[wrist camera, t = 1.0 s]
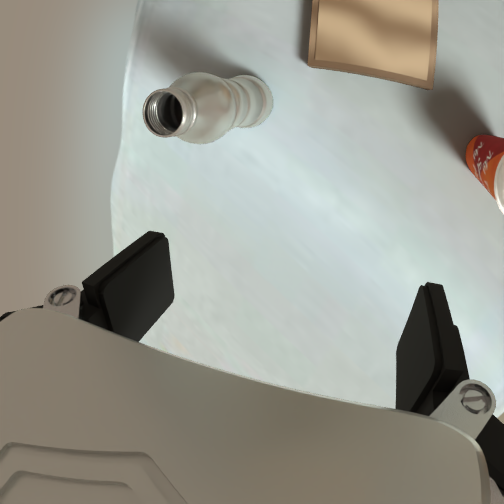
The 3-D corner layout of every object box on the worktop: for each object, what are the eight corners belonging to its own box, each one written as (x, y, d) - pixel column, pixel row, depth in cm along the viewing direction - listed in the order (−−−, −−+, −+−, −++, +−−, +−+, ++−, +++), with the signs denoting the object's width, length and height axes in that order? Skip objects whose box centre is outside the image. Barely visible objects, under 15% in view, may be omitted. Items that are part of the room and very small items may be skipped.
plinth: (318, -32, 26) (314, -42, 24) (433, -13, 23) (438, -21, 20) (311, 67, 33) (307, 65, 31) (427, 89, 30) (432, 89, 27)
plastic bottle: (251, 65, 35) (159, 51, 19) (289, 102, 36) (222, 112, 20) (218, 100, 39) (114, 115, 22) (253, 136, 40) (167, 175, 23)
